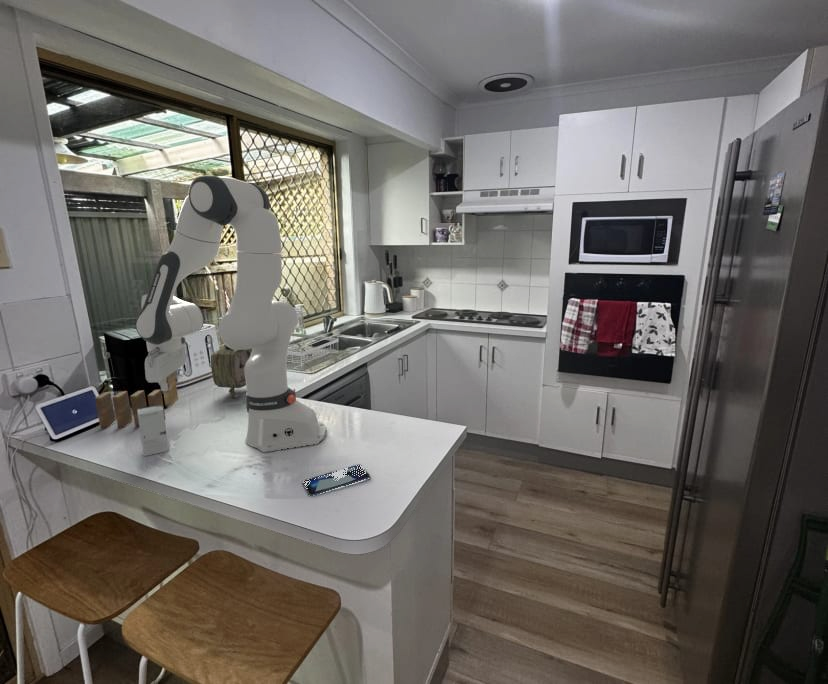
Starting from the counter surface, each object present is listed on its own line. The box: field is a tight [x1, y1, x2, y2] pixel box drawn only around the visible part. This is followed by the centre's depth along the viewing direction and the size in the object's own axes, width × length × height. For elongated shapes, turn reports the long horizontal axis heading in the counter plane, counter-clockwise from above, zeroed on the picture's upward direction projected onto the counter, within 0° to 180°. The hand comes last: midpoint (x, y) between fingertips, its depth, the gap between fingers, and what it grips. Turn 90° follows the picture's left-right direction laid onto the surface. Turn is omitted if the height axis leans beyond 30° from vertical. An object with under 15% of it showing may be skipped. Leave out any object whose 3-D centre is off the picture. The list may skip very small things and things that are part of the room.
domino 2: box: [111, 390, 133, 428], centre depth 134 cm, size 2×5×10 cm, turn 7°
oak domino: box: [162, 372, 179, 406], centre depth 134 cm, size 2×5×10 cm, turn 7°
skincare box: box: [137, 405, 169, 457], centre depth 116 cm, size 6×4×12 cm
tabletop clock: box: [210, 343, 252, 399], centre depth 158 cm, size 14×9×25 cm, turn 170°
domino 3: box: [129, 389, 148, 426], centre depth 134 cm, size 2×5×10 cm, turn 7°
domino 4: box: [147, 389, 166, 420], centre depth 135 cm, size 2×5×10 cm, turn 7°
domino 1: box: [94, 391, 117, 429], centre depth 133 cm, size 2×5×10 cm, turn 7°
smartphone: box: [301, 464, 371, 497], centre depth 102 cm, size 7×1×15 cm
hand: (170, 386), depth 134 cm, fingers closed on oak domino, 5 cm apart
